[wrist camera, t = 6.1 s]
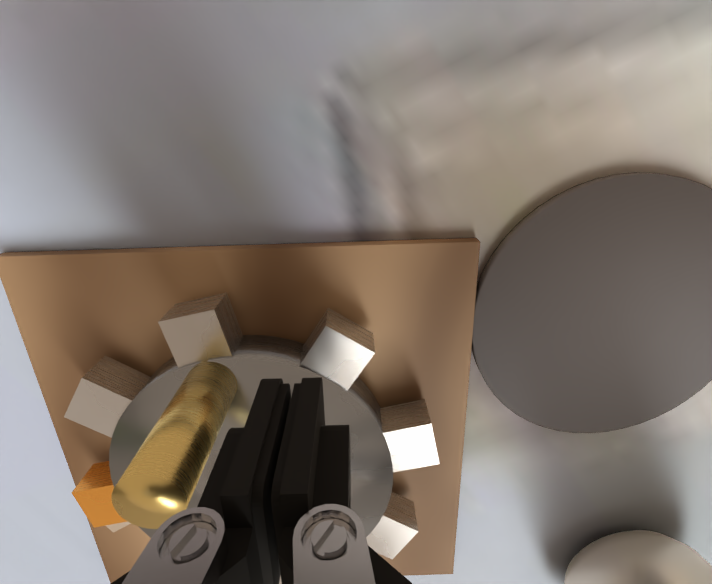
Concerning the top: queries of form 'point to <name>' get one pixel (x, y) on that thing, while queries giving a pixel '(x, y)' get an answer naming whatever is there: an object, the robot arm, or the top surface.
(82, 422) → the sprocket
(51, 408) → the base plate
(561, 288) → the pad
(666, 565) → the plastic bottle
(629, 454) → the top surface
